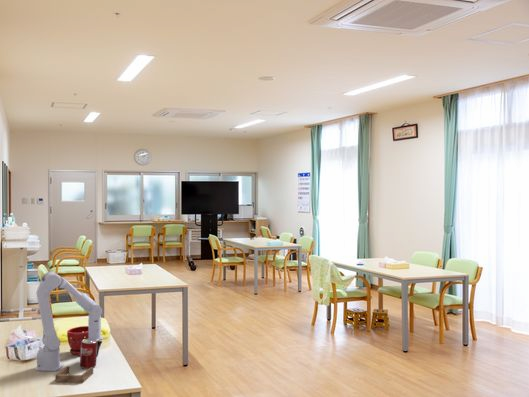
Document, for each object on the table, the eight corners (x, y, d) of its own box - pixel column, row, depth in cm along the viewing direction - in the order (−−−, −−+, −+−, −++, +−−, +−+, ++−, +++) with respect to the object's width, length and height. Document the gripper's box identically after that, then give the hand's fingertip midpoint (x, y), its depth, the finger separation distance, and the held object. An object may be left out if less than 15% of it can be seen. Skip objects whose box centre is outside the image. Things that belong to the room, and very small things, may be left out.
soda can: (87, 370, 251) (89, 344, 251) (76, 366, 254) (77, 341, 254) (99, 366, 258) (100, 340, 257) (87, 362, 261) (89, 337, 260)
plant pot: (84, 347, 287) (83, 324, 287) (100, 351, 279) (100, 328, 279) (62, 353, 276) (61, 329, 276) (78, 358, 269) (77, 333, 268)
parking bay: (55, 382, 237) (55, 375, 236) (67, 372, 248) (67, 366, 248) (82, 382, 236) (82, 375, 235) (93, 373, 247) (93, 367, 247)
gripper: (97, 333, 257) (97, 362, 257) (108, 325, 271) (108, 352, 272) (82, 332, 257) (82, 361, 258) (94, 324, 272) (94, 352, 272)
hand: (94, 357), depth 265 cm, fingers closed
